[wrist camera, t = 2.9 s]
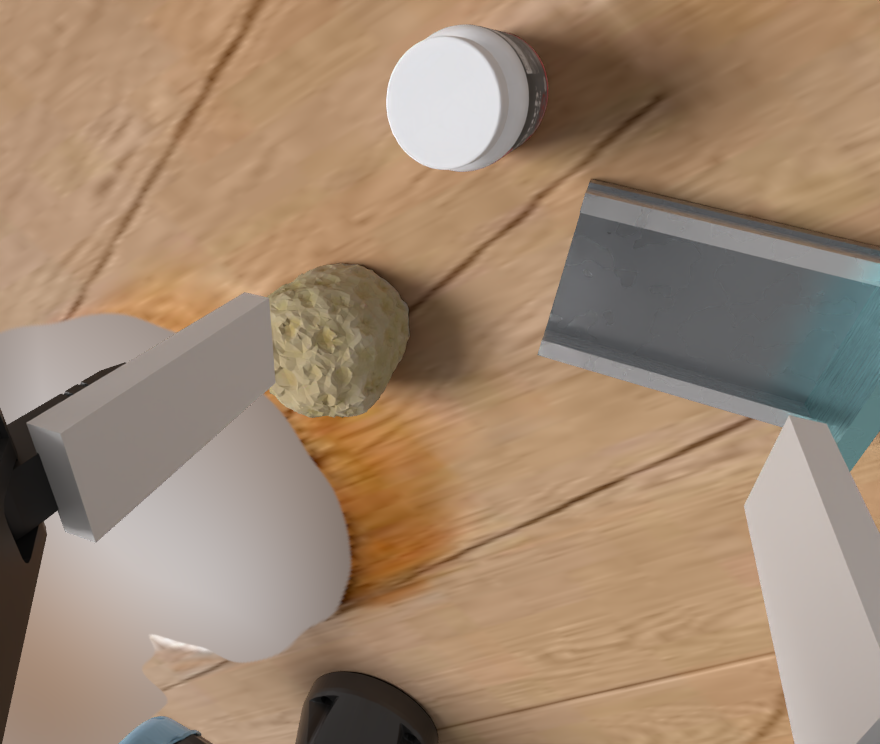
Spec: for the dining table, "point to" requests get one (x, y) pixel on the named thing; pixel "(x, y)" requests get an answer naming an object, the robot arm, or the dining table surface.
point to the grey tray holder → (723, 311)
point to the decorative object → (336, 340)
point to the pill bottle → (466, 97)
